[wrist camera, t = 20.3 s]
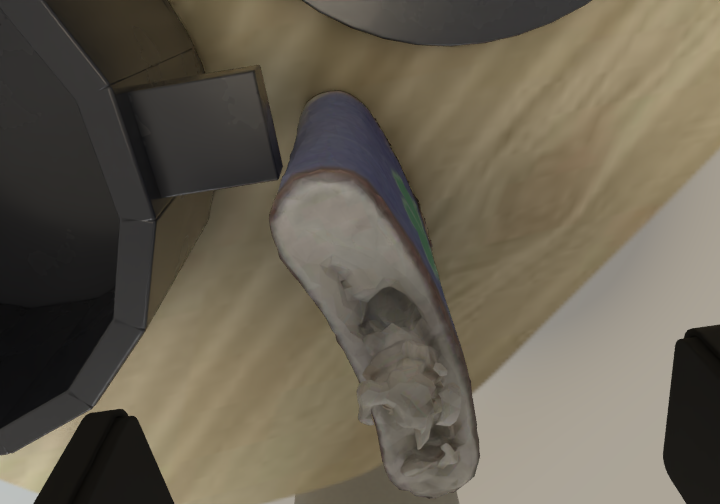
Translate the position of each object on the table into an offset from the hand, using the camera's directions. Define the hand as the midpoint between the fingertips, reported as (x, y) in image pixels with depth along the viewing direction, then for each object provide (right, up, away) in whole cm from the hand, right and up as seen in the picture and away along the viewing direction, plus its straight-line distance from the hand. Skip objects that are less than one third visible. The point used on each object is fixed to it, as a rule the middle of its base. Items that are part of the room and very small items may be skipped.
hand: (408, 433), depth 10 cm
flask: (0, +5, +11) cm, 12 cm away
